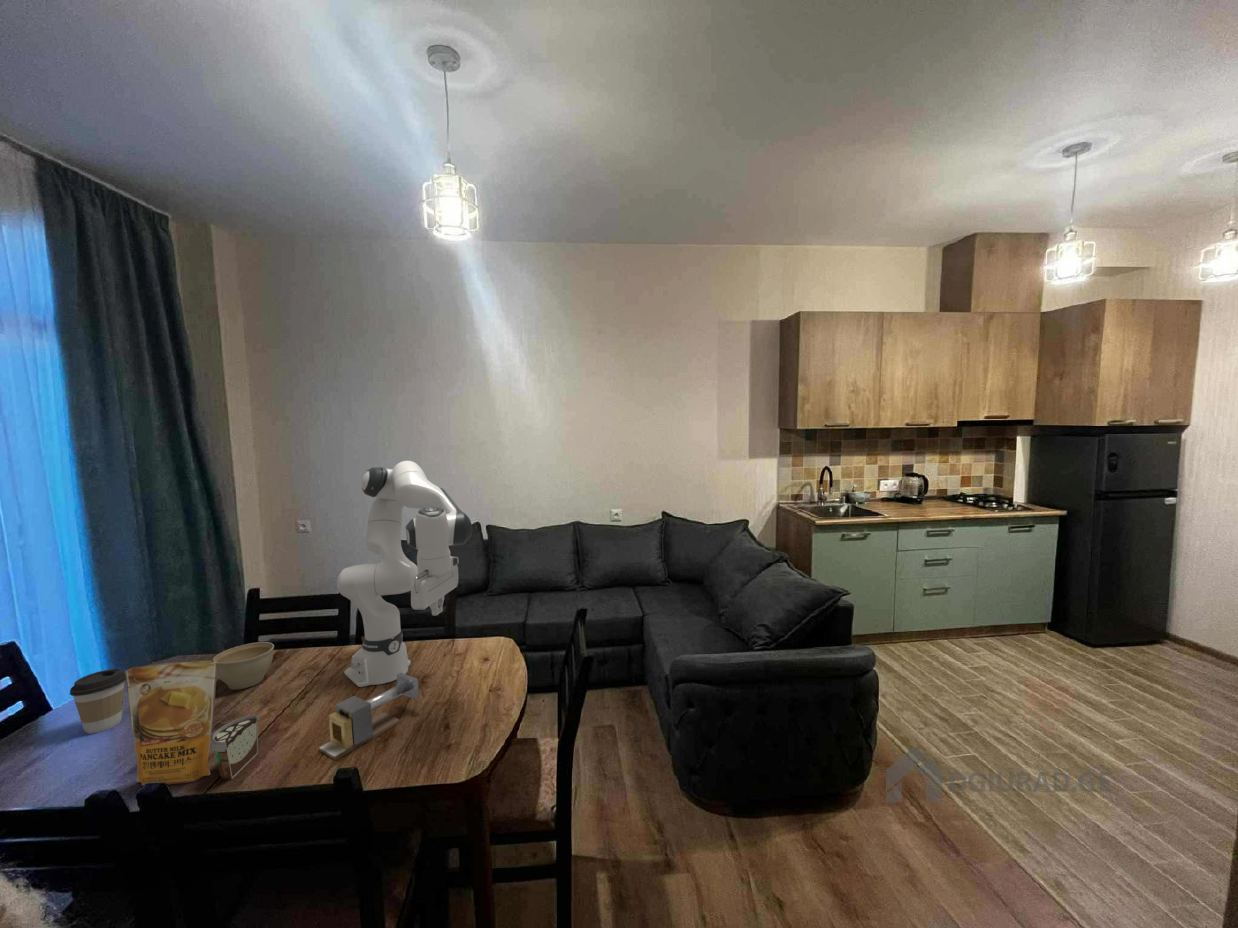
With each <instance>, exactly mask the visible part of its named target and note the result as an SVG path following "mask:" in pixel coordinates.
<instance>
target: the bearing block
mask: <svg viewBox="0 0 1238 928" xmlns="http://www.w3.org/2000/svg"><path fill="white" fill-rule="evenodd" d="M367 701H368V700H364V699H362V698H359V697H357V696H355V695H353V696H351V697H348V698H346V699H345V700H342V701H340V702H338V703H336V704H335V712H338V713H340V714H342V715H344V716H346V717H348V718H350V719H351V720H352V734H353V745H354V746H356V745H359V744H361V743H362V742H363V744H362V745H364V744H365V743H367V742H364V740H368V739H367V738H370V737H371V736H372V738H373V729H372V718H373V715H372V711H371V703H369V702H367ZM340 731H341V726H340ZM341 734H342V733H341ZM373 739H374V738H373ZM356 749H358V747H356Z"/></svg>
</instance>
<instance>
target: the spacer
mask: <svg viewBox="0 0 1238 928" xmlns="http://www.w3.org/2000/svg"><path fill="white" fill-rule="evenodd" d="M328 724H329V738H330V740H329V741H331V742H333V743H334V744H336V745H338V746H340V747H341V748H343V749H345V750H346V749H348V748H350V747H351V746H353V734H352V720H351V719H350V718H348V717H346V716H344V715H342V714H340V713H338V712H336V711H335V712H333V713H331V714H329V715H328ZM340 726H341V731H340ZM341 733H342V734H341Z"/></svg>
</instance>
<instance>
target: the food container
mask: <svg viewBox="0 0 1238 928" xmlns="http://www.w3.org/2000/svg"><path fill="white" fill-rule="evenodd" d="M258 722H260V718H259V716H258V714H252V715H251V714H250V715H247V716H244V717H240V718H237V719H234V720H232V721H231V722H228V723H226V724H224V725H223V726H222V727H220V728H219V729H218V730H216V731H215V732H214V734H213V735H212V738H211V740H210V749H211V750H212V751H214V752H215V757H216V762H217V766H218V771H219V775H220V777H221V779H224V780H233V779H234V778H235V777H236V776H237V775H238V774H239V773H240V772H241V771H242V770H243V769H244V768H245V767H246V766H247V765H248V764H249V763H250V762H251V761H252V760H253V759H254V758H255V757H256V756H257V755H258V754H259V742H258V740H259V739H258V738H259V735H258V732H259V731H258V730H259V729H258V728H259V726H258V725H259V724H258Z"/></svg>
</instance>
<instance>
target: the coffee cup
mask: <svg viewBox="0 0 1238 928" xmlns="http://www.w3.org/2000/svg"><path fill="white" fill-rule="evenodd" d="M125 682H126V677H125V673H124V672H123V671H122V669H120V668H111V669H105V670H100V671H96V672H93V673H90V674H87V675H84V676H82V677H80V678H78V679H77V680H76V681H74V683H73V686H71V688H70V690H69V695H71V696H72V697H73V700H74V703H75V707H76V709H77V713H78V716H79V720H80V722H81V724H82V729H83V731H84V732H85V733H86V735H87V734H88V735H91V734H92V735H93V734H97V733H101V732H102V733H103V732H105V731H107V730H110V729H112V728H114V727H116V726H117V725H119V724H120V723H121V722H122V719H123V718H122V717H123V706H124V705H123V704H124V695H125V694H124V693H125Z"/></svg>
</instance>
